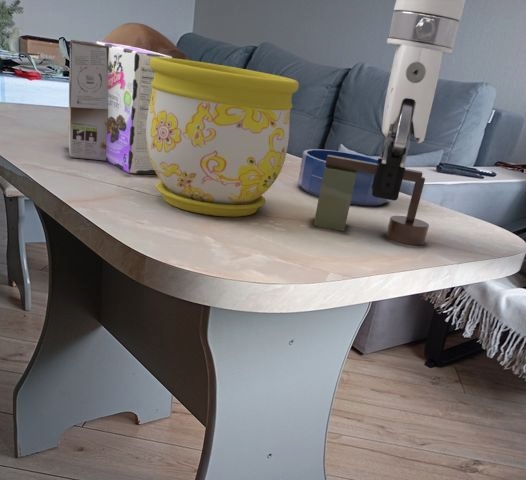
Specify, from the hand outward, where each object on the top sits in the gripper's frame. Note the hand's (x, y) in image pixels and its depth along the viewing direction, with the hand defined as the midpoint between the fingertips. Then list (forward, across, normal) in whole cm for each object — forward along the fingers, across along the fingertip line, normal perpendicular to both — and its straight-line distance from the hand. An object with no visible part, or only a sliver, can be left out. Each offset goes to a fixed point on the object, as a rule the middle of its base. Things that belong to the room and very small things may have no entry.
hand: (384, 193), depth 78 cm
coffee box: (+5, +16, +46) cm, 49 cm away
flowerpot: (+5, -1, +22) cm, 23 cm away
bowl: (+5, +22, +5) cm, 23 cm away
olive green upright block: (+5, 0, +6) cm, 8 cm away
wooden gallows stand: (+5, 0, +1) cm, 5 cm away
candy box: (+5, +14, +39) cm, 42 cm away
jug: (+5, +36, +41) cm, 55 cm away
